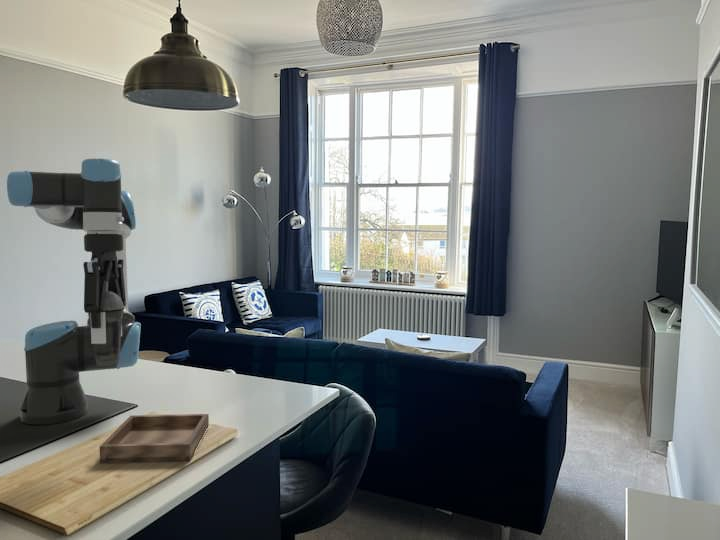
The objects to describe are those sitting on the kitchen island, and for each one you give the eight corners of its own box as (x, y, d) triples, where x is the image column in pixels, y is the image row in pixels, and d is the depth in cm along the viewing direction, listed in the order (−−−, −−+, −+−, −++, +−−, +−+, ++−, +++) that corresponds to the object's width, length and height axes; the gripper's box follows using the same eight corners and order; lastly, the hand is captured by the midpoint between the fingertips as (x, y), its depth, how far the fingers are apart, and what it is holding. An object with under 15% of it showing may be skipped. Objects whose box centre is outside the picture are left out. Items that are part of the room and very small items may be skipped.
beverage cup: (117, 357, 123) (114, 269, 121) (132, 362, 118) (129, 270, 116) (83, 363, 117) (79, 270, 116) (97, 368, 112) (93, 272, 111)
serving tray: (100, 463, 110) (99, 446, 110) (131, 430, 128) (130, 415, 128) (190, 460, 112) (190, 444, 111) (208, 428, 130) (208, 413, 129)
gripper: (99, 232, 106) (103, 349, 107) (139, 233, 126) (142, 331, 127) (60, 232, 106) (65, 349, 107) (106, 233, 126) (110, 331, 127)
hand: (107, 339), depth 117 cm, fingers closed on beverage cup, 7 cm apart
